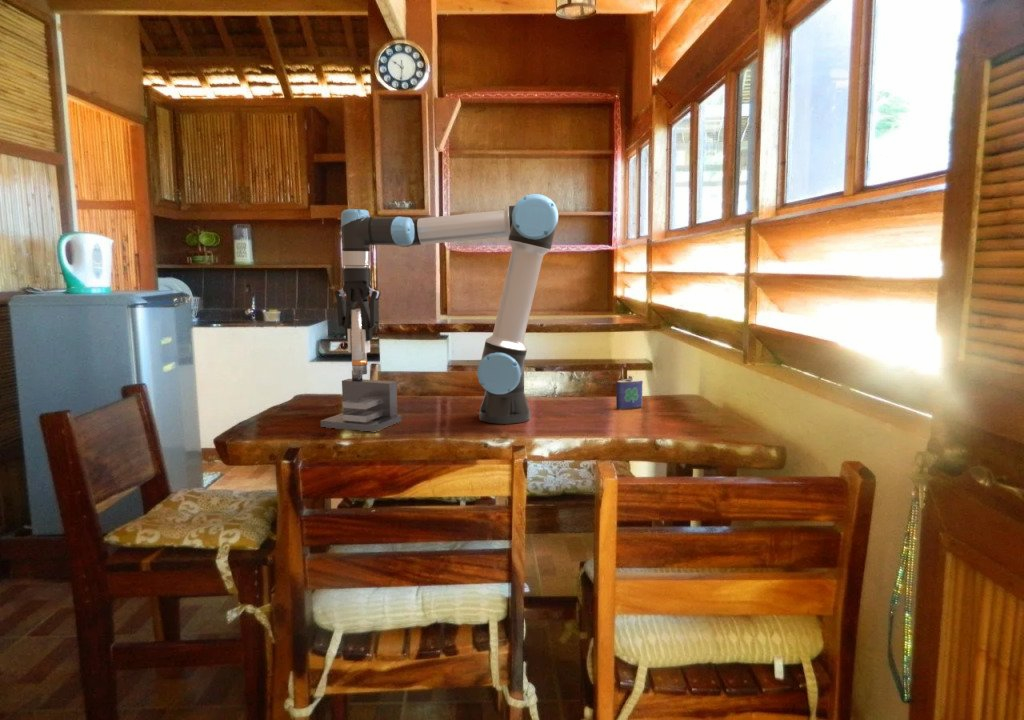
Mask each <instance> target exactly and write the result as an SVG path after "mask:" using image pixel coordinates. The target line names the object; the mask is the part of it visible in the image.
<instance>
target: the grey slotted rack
mask: <svg viewBox="0 0 1024 720" xmlns="http://www.w3.org/2000/svg"><path fill="white" fill-rule="evenodd" d="M397 385H398V382H397V381H394V380H380V379H378V380H377V379H363V375H353V372H352V371H351V378H347V379H343V380H341V392H342V393H341V395H342V402H341V404H342V405H341V406H342V412H341V413H339V414H336V415H333V416H329V417H326V418H324V419H321V420H320V428H321V427H326V428H325V429H331V428H335V429H334V430H342V429H346V430H345V431H352V430H361V431H360V432H363V431H378V430H380V429H383V428H385V427H388V426H390V427H392V426H391V425H393V424H395V425H397V424H396V423H398V424H400V423H402V422H401V421H402V420H403V419H402V414H398V386H397ZM399 422H400V423H399ZM393 426H394V425H393ZM388 428H389V427H388ZM383 430H384V429H383Z"/></svg>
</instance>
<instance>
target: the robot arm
mask: <svg viewBox="0 0 1024 720" xmlns="http://www.w3.org/2000/svg"><path fill="white" fill-rule="evenodd" d="M340 214H341V215H340V217H341V218H340V236H341V237H340V239H341V263H342V266H343V268H342V281H343V286H342V288H341V289H339V290H334V295H335V298H336V306H337V308H336V309H337V321H338V326H339V327H342V328H344V331H345V332H344V333H345V340H346V341H347V353H352V342H351V313H350V309H356V307H357V304H358V305H359V307H360V308H359V309H361V313H362V318H363V323H364V328H363V329H362V349H363V353H367V354H368V353H371V341H373V329H374V328H375V327H378V326H379V314H380V311H379V308H380V307H379V306H380V305H379V300H380V296H381V294H382V293H381V291H380V290H375V289H374V288H372V285H371V281H372V275H371V274H372V273H371V271H372V270H371V268H369V267H370V266H371V246H396V247H400V248H410V247H415V246H421V245H432V244H442V243H445V244H446V243H453V242H466V241H477V240H478V241H479V240H487V239H488V240H489V239H498V238H499V239H501V238H508V240H507V241H508V243H509V245H510V247H511V252H510V257H509V262H508V266H507V271H506V275H505V279H504V282H503V283H504V284H503V288H502V292H501V297H500V301H499V305H498V308H497V309H498V310H497V313H496V314H497V315H496V319H495V324H494V328H493V331H492V335H491V336H489V337H487V338H486V339H485V342H484V346H483V352H482V355H481V359H480V361H479V363H478V365H477V370H476V373H477V374H476V375H477V379H478V382H479V384H480V385H481V388H483V389H484V395H483V398H482V402H481V406H480V409H479V415H478V416H479V417H478V418H479V420H480V421H482V422H485V423H488V424H498V425H499V424H502V425H503V424H504V425H505V424H506V425H509V424H518V423H519V424H520V423H524V422H527V421H529V420H530V419H531V409H530V406H529V403H528V400H527V398H526V394H525V360H526V355H527V351H528V348H527V346H526V345H525V342H524V340H525V335H526V331H527V327H528V322H529V319H530V315H531V309H532V306H533V301H534V297H535V294H536V293H535V292H536V288H537V284H538V280H539V277H540V271H541V268H542V264H543V260H544V256H546V254H547V253H549V252H551V249H552V246H553V242H554V237H555V233H556V229H557V227H558V223H559V211H558V207H557V205H556V203H555V202H554V201H553V200H552V199H551V198H550V197H549V196H546V195H543V194H541V193H540V194H539V193H531V194H527V195H524V196H523V197H521V198H520V199H519V200H517V203H516V204H515V205H509V206H507V207H506V208H505V209H504V210H503V209H502V210H501V209H500V210H493V211H483V212H481V211H480V212H473V213H472V212H471V213H461V214H454V215H450V214H449V215H443V216H442V215H441V216H431V217H424V218H423V217H421V218H411V217H408V216H389V217H388V216H385V217H384V216H381V217H378V216H377V217H374V216H370V212H369V210H367V209H358V208H357V209H356V208H355V209H354V208H351V209H344V210H343V211H341V213H340ZM369 297H370V298H369ZM369 299H370V300H369Z"/></svg>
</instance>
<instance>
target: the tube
mask: <svg viewBox="0 0 1024 720" xmlns="http://www.w3.org/2000/svg"><path fill="white" fill-rule="evenodd" d="M350 313H351V342H352V352H351V366H352V370H351V373H352V372H353V375H362V376H364V375H368V357H367V355H368V353H363V349H362V329H363V328H364V323H363V318H362V313H361V308H355V309H350Z"/></svg>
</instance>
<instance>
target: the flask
mask: <svg viewBox="0 0 1024 720" xmlns="http://www.w3.org/2000/svg"><path fill="white" fill-rule="evenodd" d="M633 378H634V376H633V375H632V374H631V375H630V374H629V375H628V377H627V378H626V379H625V378H624V379H620V380H618V381H616V386H615V387H616V389H615V390H616V391H615V392H616V394H615V395H616V398H615V399H616V405H615V406H616V407H615V408H616V410H617V411H625V410H634V409H635V410H636V409H637V410H638V409H642V408H643V382H644V381H643V379H633Z"/></svg>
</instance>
